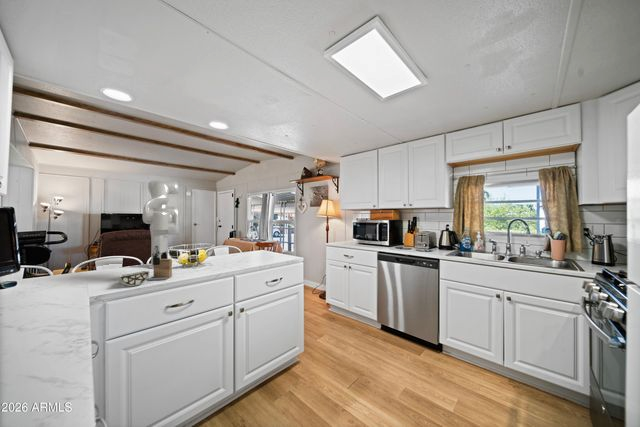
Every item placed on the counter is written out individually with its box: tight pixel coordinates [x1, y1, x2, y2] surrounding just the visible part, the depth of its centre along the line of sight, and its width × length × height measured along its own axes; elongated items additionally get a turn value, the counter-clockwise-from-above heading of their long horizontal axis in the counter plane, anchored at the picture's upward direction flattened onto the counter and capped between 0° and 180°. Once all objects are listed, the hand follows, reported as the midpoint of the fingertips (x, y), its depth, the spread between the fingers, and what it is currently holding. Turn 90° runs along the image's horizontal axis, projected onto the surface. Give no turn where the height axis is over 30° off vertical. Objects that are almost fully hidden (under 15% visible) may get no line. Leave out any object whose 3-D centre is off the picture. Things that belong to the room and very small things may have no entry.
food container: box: [118, 270, 150, 287], centre depth 122 cm, size 12×6×10 cm
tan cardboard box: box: [152, 258, 173, 278], centre depth 133 cm, size 4×8×10 cm, turn 103°
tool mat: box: [146, 276, 171, 282], centre depth 133 cm, size 9×9×1 cm
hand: (160, 263), depth 133 cm, fingers open, 9 cm apart
